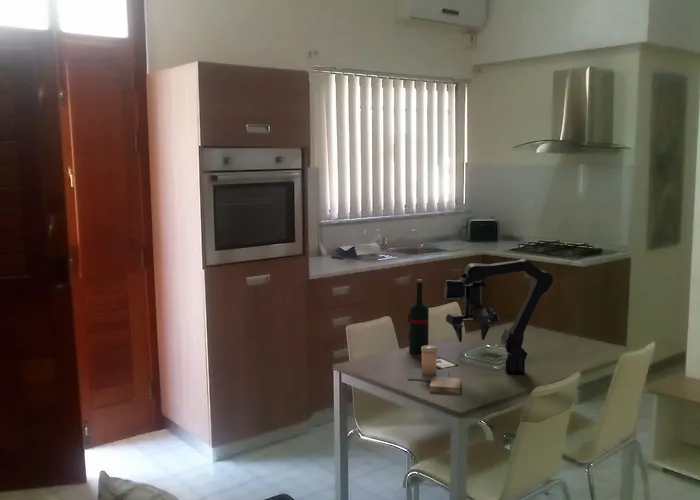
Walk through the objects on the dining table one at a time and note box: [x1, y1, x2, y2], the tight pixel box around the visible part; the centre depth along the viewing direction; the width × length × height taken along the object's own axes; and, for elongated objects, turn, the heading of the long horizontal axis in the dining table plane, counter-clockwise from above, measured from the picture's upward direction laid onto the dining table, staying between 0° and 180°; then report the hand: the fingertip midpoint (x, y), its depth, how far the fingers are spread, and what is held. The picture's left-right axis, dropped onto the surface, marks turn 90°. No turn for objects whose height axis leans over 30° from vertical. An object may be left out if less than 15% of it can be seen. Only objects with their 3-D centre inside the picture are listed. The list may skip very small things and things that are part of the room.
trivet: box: [429, 377, 462, 394], centre depth 230 cm, size 10×10×2 cm
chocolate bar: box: [411, 354, 459, 370], centre depth 261 cm, size 9×1×18 cm
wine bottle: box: [407, 278, 430, 355], centre depth 272 cm, size 8×10×30 cm
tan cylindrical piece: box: [421, 344, 438, 377], centre depth 242 cm, size 6×6×10 cm
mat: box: [407, 368, 450, 382], centre depth 243 cm, size 14×12×1 cm
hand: (471, 340), depth 245 cm, fingers open, 9 cm apart
